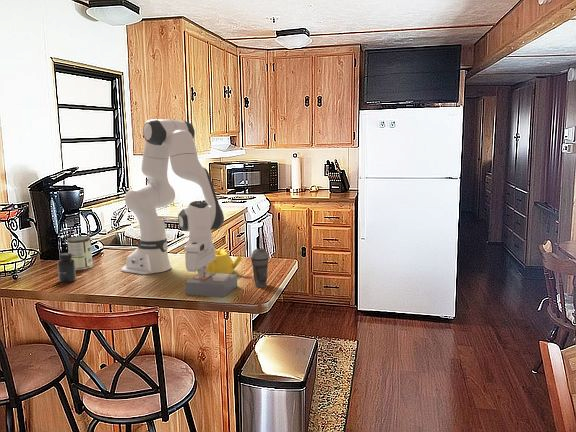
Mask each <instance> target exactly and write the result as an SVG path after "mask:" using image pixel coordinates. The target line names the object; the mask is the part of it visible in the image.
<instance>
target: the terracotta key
mask: <svg viewBox="0 0 576 432" xmlns="http://www.w3.org/2000/svg"><path fill="white" fill-rule="evenodd" d="M210 277H211V275H206V276H204V277H203V278H199V275H198V276H197V277H195V278H194V279H196V280H207V279H208V278H210Z"/></svg>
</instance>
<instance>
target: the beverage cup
mask: <svg viewBox="0 0 576 432" xmlns="http://www.w3.org/2000/svg"><path fill="white" fill-rule="evenodd" d="M263 238H264V237H261V241H260V247H257V248H255V249H254V250H253V251H252V253H251V256H250V259H251V264H252V271H253V280H254V285H255V287H256V288H265V287H267V280H268V265H269V260H270V259H269V258H270V257H269V253H268V252H267V250H265V248H263V240H264V239H263Z"/></svg>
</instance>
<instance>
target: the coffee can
mask: <svg viewBox="0 0 576 432" xmlns="http://www.w3.org/2000/svg"><path fill="white" fill-rule="evenodd" d="M66 242H67V250H68V251H67V253H71V254H72V258H71V259H73V260H74V261H75V271H80V270H81V271H82V270H87V269H90V268H93V266H94V265H93V255H92V244H91V236H88V235H79V236H72V237H68V238H66Z"/></svg>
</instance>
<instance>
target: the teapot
mask: <svg viewBox="0 0 576 432" xmlns="http://www.w3.org/2000/svg"><path fill="white" fill-rule="evenodd" d="M215 253H216V258H215V260H214V261H212V262H210V263H209V264H207V269H206V273H225V274H233V273H234V272H235V270H236V269H235V268H237V267H238V265H240V262H242V260H243V257H242V256H240V255H238V256H236V258H235V259H234V261H233V259H232V257H231V256H230V255H229V253H228V251H227V249H223V248H222V249H219V248H217V249H216V248H215Z"/></svg>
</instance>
